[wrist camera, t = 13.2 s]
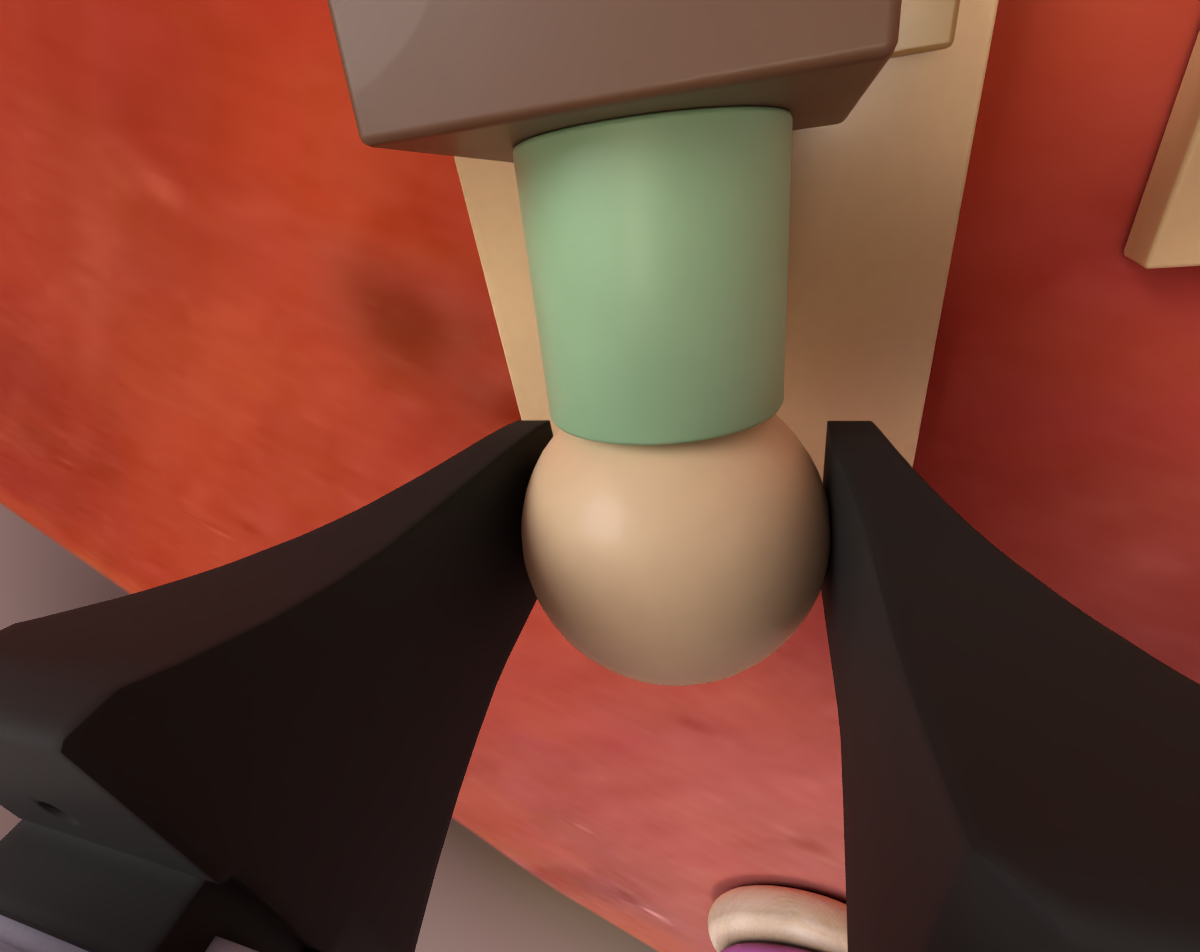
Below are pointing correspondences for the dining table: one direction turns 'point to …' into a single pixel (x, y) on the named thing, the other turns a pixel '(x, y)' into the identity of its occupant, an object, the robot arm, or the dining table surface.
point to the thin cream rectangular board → (824, 237)
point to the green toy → (645, 288)
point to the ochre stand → (1173, 186)
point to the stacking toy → (777, 921)
